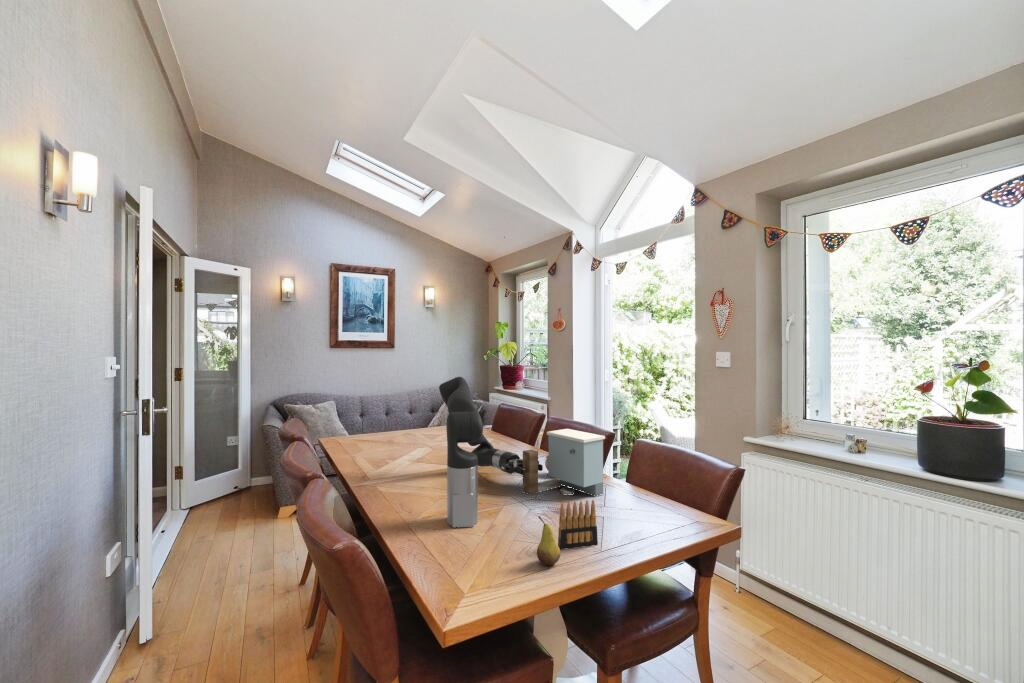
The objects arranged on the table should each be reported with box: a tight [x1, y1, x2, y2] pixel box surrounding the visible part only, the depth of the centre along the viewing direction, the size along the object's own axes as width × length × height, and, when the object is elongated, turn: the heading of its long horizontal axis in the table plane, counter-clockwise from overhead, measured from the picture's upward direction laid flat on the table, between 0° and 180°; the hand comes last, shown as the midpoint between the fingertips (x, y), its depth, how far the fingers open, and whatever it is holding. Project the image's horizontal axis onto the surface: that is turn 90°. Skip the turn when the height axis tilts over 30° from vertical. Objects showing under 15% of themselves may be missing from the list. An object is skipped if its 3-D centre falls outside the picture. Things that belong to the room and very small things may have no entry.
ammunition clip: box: [557, 499, 599, 550], centre depth 123 cm, size 11×2×12 cm, turn 104°
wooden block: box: [522, 449, 562, 495], centre depth 171 cm, size 4×16×15 cm, turn 128°
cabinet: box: [546, 428, 606, 497], centre depth 169 cm, size 19×12×21 cm, turn 38°
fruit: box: [536, 515, 561, 566], centre depth 113 cm, size 6×6×12 cm
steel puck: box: [560, 487, 575, 495], centre depth 167 cm, size 5×5×2 cm
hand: (533, 470), depth 166 cm, fingers open, 8 cm apart
